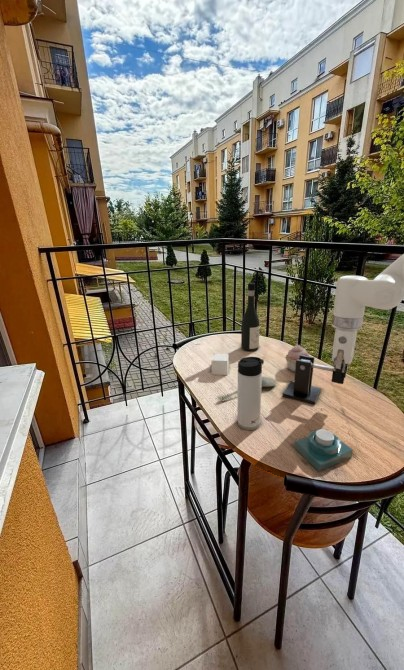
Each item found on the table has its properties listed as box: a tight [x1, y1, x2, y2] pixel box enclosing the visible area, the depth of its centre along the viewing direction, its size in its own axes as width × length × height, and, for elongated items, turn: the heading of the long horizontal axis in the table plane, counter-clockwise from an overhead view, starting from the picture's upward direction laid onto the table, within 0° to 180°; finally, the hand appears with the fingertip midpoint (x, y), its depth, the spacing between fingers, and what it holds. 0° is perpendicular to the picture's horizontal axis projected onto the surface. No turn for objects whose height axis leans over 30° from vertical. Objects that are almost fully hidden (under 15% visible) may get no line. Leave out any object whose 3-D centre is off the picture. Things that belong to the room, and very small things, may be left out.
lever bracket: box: [282, 355, 322, 406], centre depth 90 cm, size 10×9×13 cm
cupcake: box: [284, 344, 310, 373], centre depth 107 cm, size 9×9×10 cm
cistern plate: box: [294, 429, 354, 472], centre depth 67 cm, size 10×8×4 cm
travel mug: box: [237, 356, 265, 431], centre depth 76 cm, size 6×7×20 cm
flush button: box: [315, 428, 335, 446], centre depth 66 cm, size 4×4×2 cm
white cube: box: [210, 353, 230, 376], centre depth 108 cm, size 6×6×6 cm
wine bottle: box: [240, 282, 261, 352], centre depth 124 cm, size 8×8×30 cm
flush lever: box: [301, 359, 347, 374], centre depth 85 cm, size 13×3×3 cm, turn 58°
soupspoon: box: [219, 376, 276, 402], centre depth 94 cm, size 22×3×7 cm
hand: (338, 379), depth 84 cm, fingers closed on flush lever, 3 cm apart
